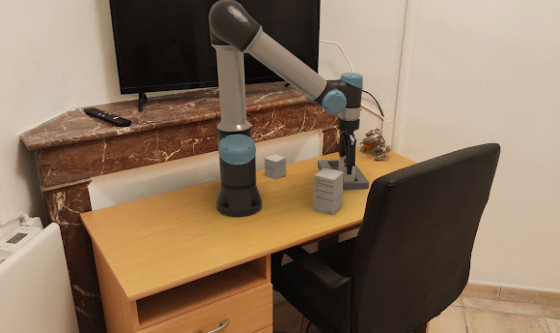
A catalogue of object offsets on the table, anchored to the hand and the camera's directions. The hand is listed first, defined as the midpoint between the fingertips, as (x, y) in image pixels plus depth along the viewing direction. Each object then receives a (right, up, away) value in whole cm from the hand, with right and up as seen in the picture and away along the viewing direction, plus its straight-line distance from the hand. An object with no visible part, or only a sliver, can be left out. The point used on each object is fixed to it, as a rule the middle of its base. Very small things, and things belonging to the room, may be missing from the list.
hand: (344, 177), depth 173 cm
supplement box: (-8, -10, -18) cm, 22 cm away
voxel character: (+15, +8, +27) cm, 32 cm away
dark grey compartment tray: (0, 0, +6) cm, 6 cm away
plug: (+1, -2, +1) cm, 2 cm away
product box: (-26, 0, +8) cm, 27 cm away
